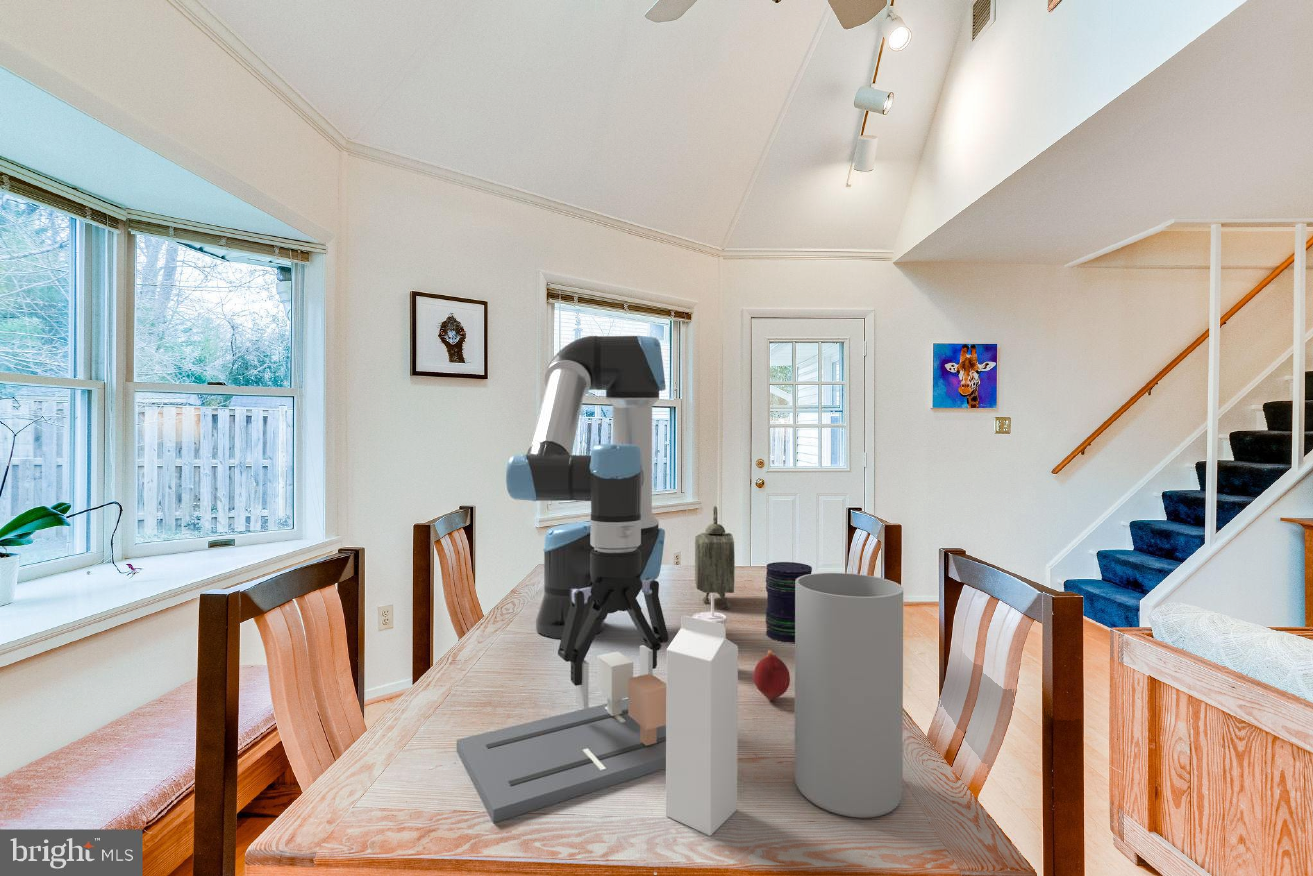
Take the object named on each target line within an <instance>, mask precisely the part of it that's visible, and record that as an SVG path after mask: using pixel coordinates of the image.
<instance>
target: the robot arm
mask: <svg viewBox="0 0 1313 876" xmlns="http://www.w3.org/2000/svg"><path fill="white" fill-rule="evenodd" d="M545 370H546V371H545V374H544V384H545V391H544V395H543V398H542V401H541V405H540V409H539V410H538V415H537V418H536V422H535V425H534V428H533V432H532V435H531V437H530V441H529V445H528V448H527V452H526V454H525V453H521V454H514V455H512V456H511V457H510V458H509V459H508V461H507V465H506V472H505V482H506V483H505V485H506V489H507V493H508V495H509V496H510V498H512V499H513V500H518V501H532V502H544V501H545V502H547V501H549V502H551V501H553V502H554V501H559V502H560V501H562V502H563V501H565V502H566V501H576V502H580V501H581V502H583V501H584V502H585V501H586V502H588V501H589V502H590V521H587V520H586V521H578V522H577V521H576V522H570V523H566V524H560V525H556V526H553V527H551V528H549V529H547V531H546V533H545V535H544V548H543V552H544V554H543V555H544V556H543V557H544V558H543V561H544V562H543V563H544V564H543V567H544V569H543V570H544V571H543V573H544V578H543V579H544V580H543V582H544V584H543V585H544V587H543V590H544V592H543V597H542V600H541V603H540V607H539V608H538V609H539V610H538V613H537V616H536V620H535V631H536V630H537V631H538V632H537V631H536V632H537V633H538V634H539V633H541V634H542V636H544V635H545V637H548V636H549V637H548V638H554V639H560V642H559V646H558V650H557V655H558V656H559V657H560V658H561V659H562V660H563V661H564V662H569V663H570V681H571V683H572V684H573V685H574V686H575V691H576V693H575V704H577V705H578V706H579V707H580V708H581V710H582V709H583V710H585V709H588V708H589V698H590V697H589V692H590V691H589V686H590V683H589V679H590V678H589V675H590V674H589V671H590V667H589V665H590V663H589V662H588V661H587V660H585V659H586V656H587V654H588V653H589V650H590V648H591V646H592V644H593V642H594V639H595V637H596V635H597V634H599V633H600V632H602V631H603V630H604V629H605V620H606V619H607V616H608V615H609V614H614V613H617V612H627V613H628V615H629V617H630V619H631V620H632V622H633V624H634V626H635V628H636V630H637V631H638V633H639V635H640V637H641V639H642V640H643V645H640V646H639V676H642V675H646V674H652V675H653V674H654V673H653V672H654V671H653V670H655V669H656V668H657V665H658V659H657V658H658V651H660V650H661V649H662V643H664V644H665V643H667V642H668V641H669V639H670V638H669V634H668V630H667V624H666V622H665V617H664V612H663V610H662V605H661V601H660V597H659V593H660V591H659V590H660V583H659V581H658V580H657V579H658V578H659V576H660V574H661V567H662V562H663V555H664V554H663V553H664V545H665V536H666V531H665V529H664V528H661V527H659V525H660V524H659V523H660V522H659V520H658V518H656V516H654V515H653V508H652V507H653V407H654V405H655V404H656V403H657V402H658V400H660V392H663V391H665V390H666V386H667V385H666V380H665V377H666V376H665V371H664V370H665V369H664V362H663V354H662V347H661V342H660V340H659V339H658V338H656V337H653V336H643V335H612V336H611V335H599V336H598V335H588V336H584V337H581V338H578V339H576V340H574V341H571V342H570V343H568V344H567V345H565V346H564V347H562V348H561V349H560V350H559V351H558V352H557V353H556V354H555V355H553V357H552V359H551V360H550V362H549V363H548V366H547V367H546V369H545ZM592 390H594V391H605V399H606V400H607V402H608V403H610V405H611V406H612V443H609V444H608V443H605V444H603V443H602V444H600V443H598V444H596V445H593V447H592V449H591V453H590V454H591V455H590V454H587V455H584V454H581V455H580V454H577V455H576V454H573V450H574V447H575V446H574V445H575V439H576V435H577V430H578V424H579V420H580V416H581V415H580V414H581V409H582V405H583V401H584V397H585V396H586V395H587V394H588V393H589V392H590V391H592ZM640 592H642V593H643V596H644V601H645V604H646V605H645V606H646V608H647V614H648V616H649V622H650V624H649V623H648V620H647V618H646V617H645V615H644V613H643V611H642V607H641V605H640V604H639V601H638V599H637V597H638V595H639V594H640ZM541 634H540V635H541ZM644 644H645V645H644Z"/></svg>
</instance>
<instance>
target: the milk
mask: <svg viewBox="0 0 1313 876" xmlns="http://www.w3.org/2000/svg"><path fill="white" fill-rule="evenodd" d="M726 631H727V630H726V624H725V625H724V624H720V623H716V622H711V621H706V620H702V619H697V618H693V616H688V615H682V616H681V617H680V629H679V630H678V632H677V633H676V635H675V637H674V638H673V639H672V640H671V642H670V644H669V645H668V647H667V648H666V675H665V676H666V679H665V680H666V682H665V683H666V769H665V816H666V817H668V818H670V819H672V820H675V821H676V822H679V823H681V824H684V825H686V826H687V827H689V828H692V829H694V830H696V831H698V832H700V833H703V835H707V836H709V837H710V836H712V835H713V834H714V833H715V832H716V831H717V830H718V829H719V828H720V827H721V826H722V825H723V824H724V823H725V822H726V821H728V819H729V818H730V817H731V816H733V814H735V812H736V811H738V742H739V741H738V733H739V732H738V731H739V730H738V724H739V723H738V722H739V721H738V719H739V718H738V715H739V714H738V713H739V709H738V707H739V706H738V705H739V697H738V696H739V691H738V690H739V647H738V645H737V644H735V643H734V642H732V641H731V640H729V639H727V638H726V636H727V635H726V634H727V633H726Z"/></svg>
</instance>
